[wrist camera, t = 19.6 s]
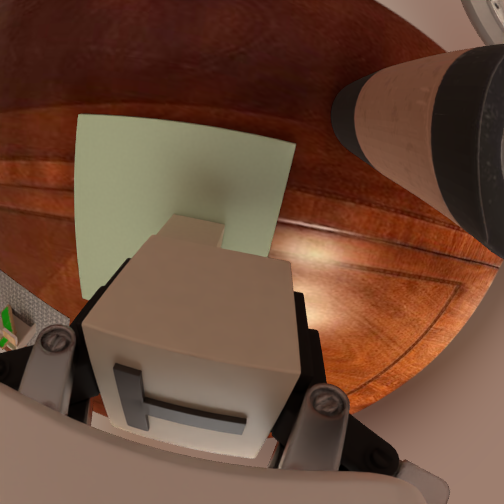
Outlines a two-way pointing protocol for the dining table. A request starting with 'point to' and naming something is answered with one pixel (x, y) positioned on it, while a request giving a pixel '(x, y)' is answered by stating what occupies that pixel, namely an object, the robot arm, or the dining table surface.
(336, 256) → the dining table surface
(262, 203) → the board
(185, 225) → the tile
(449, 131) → the travel mug
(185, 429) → the tile
